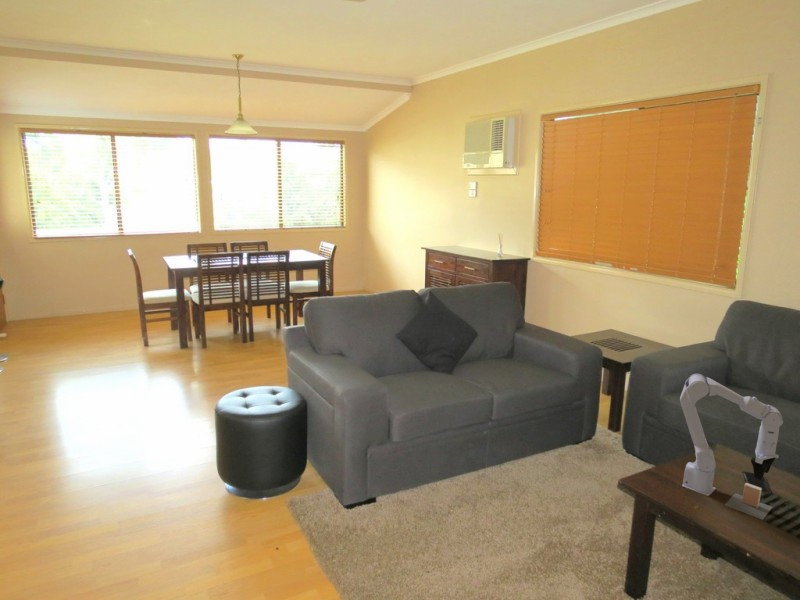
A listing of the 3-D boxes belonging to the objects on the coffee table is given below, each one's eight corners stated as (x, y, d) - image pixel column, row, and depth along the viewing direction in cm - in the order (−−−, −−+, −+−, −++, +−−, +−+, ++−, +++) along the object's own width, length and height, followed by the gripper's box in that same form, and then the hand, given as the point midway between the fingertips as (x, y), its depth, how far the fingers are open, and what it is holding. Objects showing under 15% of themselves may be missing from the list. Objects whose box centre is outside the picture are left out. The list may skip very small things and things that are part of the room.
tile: (741, 502, 202) (744, 484, 201) (743, 500, 203) (746, 482, 202) (757, 508, 199) (760, 490, 197) (758, 505, 200) (761, 488, 198)
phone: (747, 488, 211) (741, 470, 224) (747, 491, 211) (741, 473, 224) (772, 493, 208) (764, 475, 221) (771, 496, 208) (764, 477, 221)
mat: (724, 506, 200) (724, 505, 200) (735, 494, 208) (735, 493, 208) (762, 520, 191) (762, 519, 191) (772, 507, 200) (772, 506, 200)
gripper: (774, 450, 191) (768, 486, 194) (786, 438, 201) (779, 473, 204) (751, 443, 196) (745, 478, 199) (763, 432, 206) (757, 465, 209)
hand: (761, 475), depth 202 cm, fingers open, 7 cm apart
